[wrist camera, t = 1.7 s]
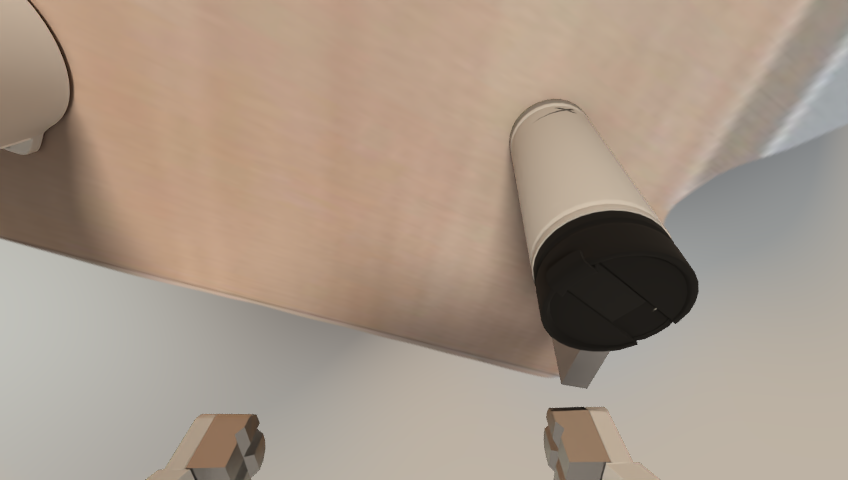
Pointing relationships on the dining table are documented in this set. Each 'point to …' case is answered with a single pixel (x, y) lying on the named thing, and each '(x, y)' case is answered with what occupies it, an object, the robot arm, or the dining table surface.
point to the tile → (577, 364)
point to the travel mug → (592, 236)
